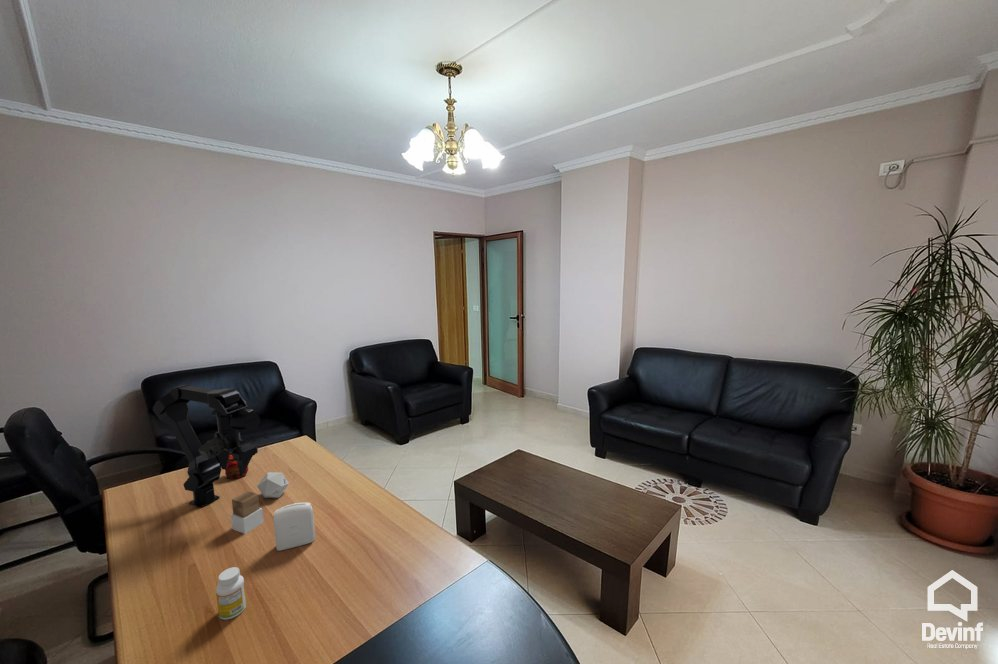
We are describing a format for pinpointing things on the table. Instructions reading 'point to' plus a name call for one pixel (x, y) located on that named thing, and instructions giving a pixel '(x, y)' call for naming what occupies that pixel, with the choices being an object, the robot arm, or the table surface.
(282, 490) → the die
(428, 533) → the table surface
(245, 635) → the table surface
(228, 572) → the supplement bottle
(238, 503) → the brown cube
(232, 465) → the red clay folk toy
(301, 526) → the photo printer
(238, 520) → the grey block
